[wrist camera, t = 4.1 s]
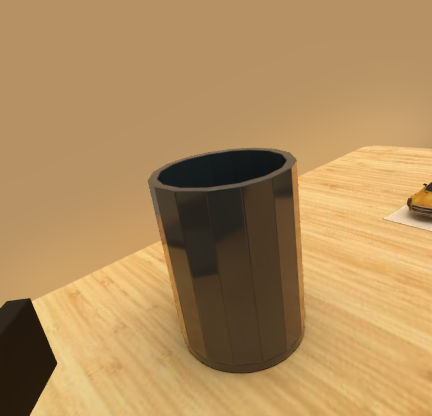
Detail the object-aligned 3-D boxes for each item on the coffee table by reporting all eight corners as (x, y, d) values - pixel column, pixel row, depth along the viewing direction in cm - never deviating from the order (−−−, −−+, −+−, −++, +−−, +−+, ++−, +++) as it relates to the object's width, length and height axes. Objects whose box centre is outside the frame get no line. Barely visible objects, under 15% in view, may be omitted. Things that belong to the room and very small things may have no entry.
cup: (179, 381, 19) (134, 201, 15) (188, 295, 26) (159, 159, 22) (321, 364, 19) (314, 175, 15) (289, 282, 26) (279, 141, 22)
